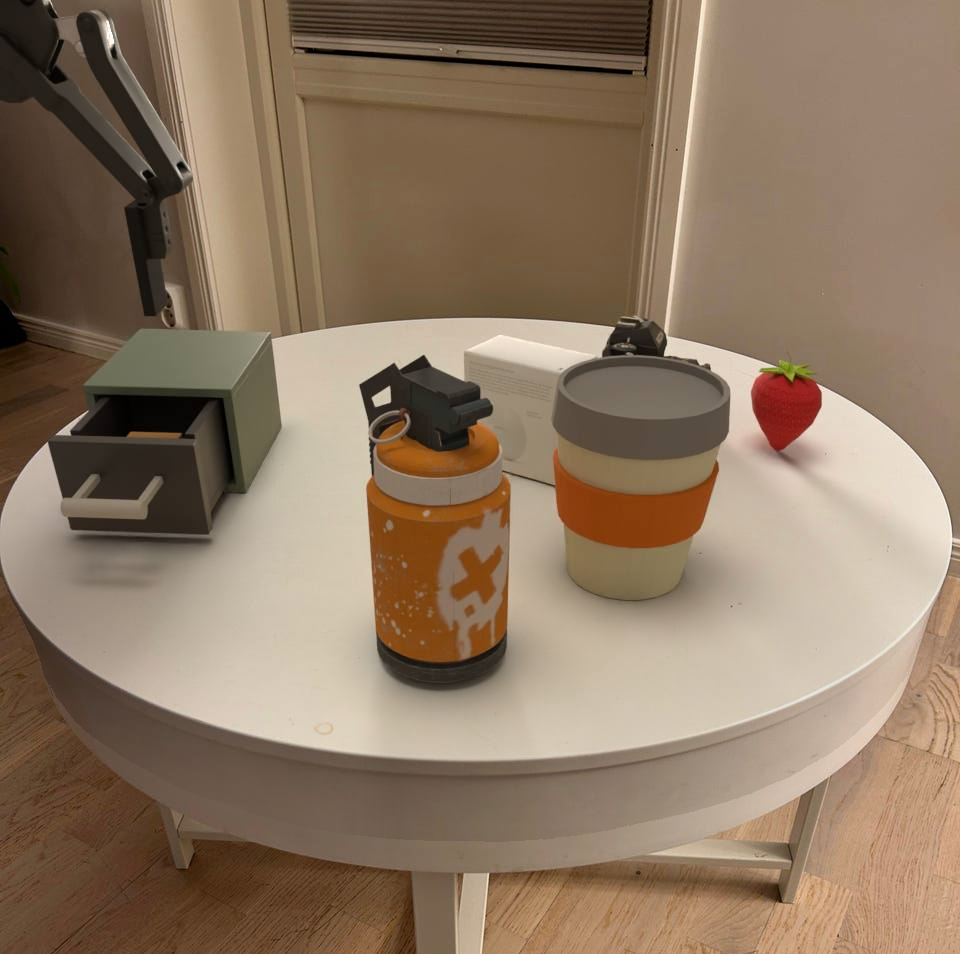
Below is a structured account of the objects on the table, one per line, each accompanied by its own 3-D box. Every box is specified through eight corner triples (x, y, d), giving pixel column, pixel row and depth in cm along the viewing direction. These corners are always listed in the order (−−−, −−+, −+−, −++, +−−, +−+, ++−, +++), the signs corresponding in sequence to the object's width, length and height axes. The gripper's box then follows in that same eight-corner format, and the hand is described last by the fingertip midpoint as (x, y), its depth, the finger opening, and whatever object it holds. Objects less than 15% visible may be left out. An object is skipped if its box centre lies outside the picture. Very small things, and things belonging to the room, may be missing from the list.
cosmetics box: (591, 462, 94) (600, 352, 88) (557, 488, 89) (564, 374, 83) (498, 436, 98) (500, 330, 92) (461, 459, 94) (460, 350, 88)
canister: (429, 708, 64) (420, 414, 52) (335, 632, 71) (309, 357, 59) (533, 656, 69) (545, 375, 57) (435, 589, 76) (429, 326, 64)
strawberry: (771, 471, 92) (791, 366, 87) (728, 439, 98) (744, 338, 92) (825, 462, 94) (848, 358, 88) (780, 431, 100) (799, 332, 94)
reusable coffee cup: (676, 630, 71) (705, 435, 62) (517, 587, 76) (523, 399, 67) (724, 551, 80) (754, 371, 72) (579, 517, 85) (592, 343, 76)
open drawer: (188, 572, 76) (170, 479, 71) (41, 566, 76) (14, 474, 72) (250, 462, 91) (238, 380, 87) (127, 458, 92) (110, 376, 87)
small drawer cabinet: (246, 493, 88) (230, 389, 83) (106, 488, 89) (81, 385, 83) (282, 426, 100) (270, 331, 94) (158, 422, 101) (140, 328, 95)
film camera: (723, 460, 94) (739, 357, 88) (592, 459, 94) (600, 356, 88) (690, 389, 109) (702, 296, 103) (577, 388, 109) (583, 296, 103)
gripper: (-328, -104, 49) (-170, 322, 62) (170, -98, 49) (229, 330, 61) (-235, -100, 56) (-108, 287, 68) (208, -96, 55) (255, 294, 67)
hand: (52, 308), depth 65 cm, fingers open, 13 cm apart
